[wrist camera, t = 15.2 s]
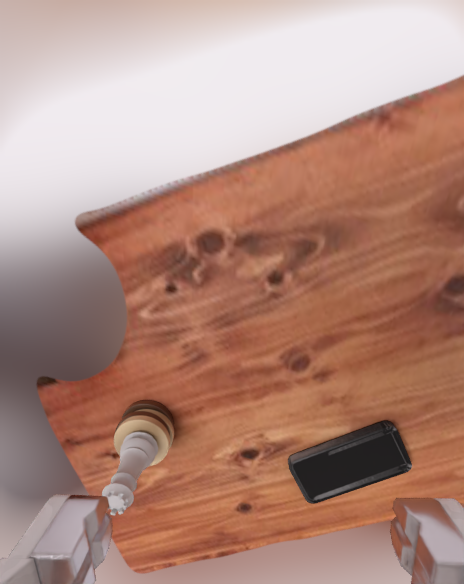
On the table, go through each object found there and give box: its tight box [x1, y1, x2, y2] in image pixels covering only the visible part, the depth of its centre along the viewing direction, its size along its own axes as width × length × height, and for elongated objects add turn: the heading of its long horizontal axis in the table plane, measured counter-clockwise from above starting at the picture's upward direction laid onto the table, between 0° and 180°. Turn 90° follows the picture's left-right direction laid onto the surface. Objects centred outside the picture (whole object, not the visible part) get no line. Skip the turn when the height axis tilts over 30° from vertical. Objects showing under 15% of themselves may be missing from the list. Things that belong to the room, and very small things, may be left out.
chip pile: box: [114, 400, 174, 466], centre depth 38 cm, size 8×8×4 cm
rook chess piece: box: [102, 431, 158, 515], centre depth 32 cm, size 4×4×8 cm
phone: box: [288, 421, 412, 504], centre depth 39 cm, size 8×1×15 cm
